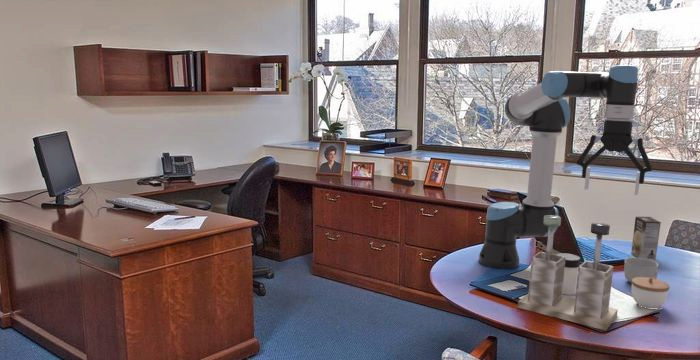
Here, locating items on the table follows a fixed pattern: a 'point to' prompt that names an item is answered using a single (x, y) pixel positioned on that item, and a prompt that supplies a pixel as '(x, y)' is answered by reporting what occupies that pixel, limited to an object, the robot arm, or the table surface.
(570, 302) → the stand
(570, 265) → the jar
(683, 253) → the table surface
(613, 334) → the table surface
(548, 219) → the plunger
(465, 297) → the table surface
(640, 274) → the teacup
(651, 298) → the lidded jar
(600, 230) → the plunger
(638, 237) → the coffee box
